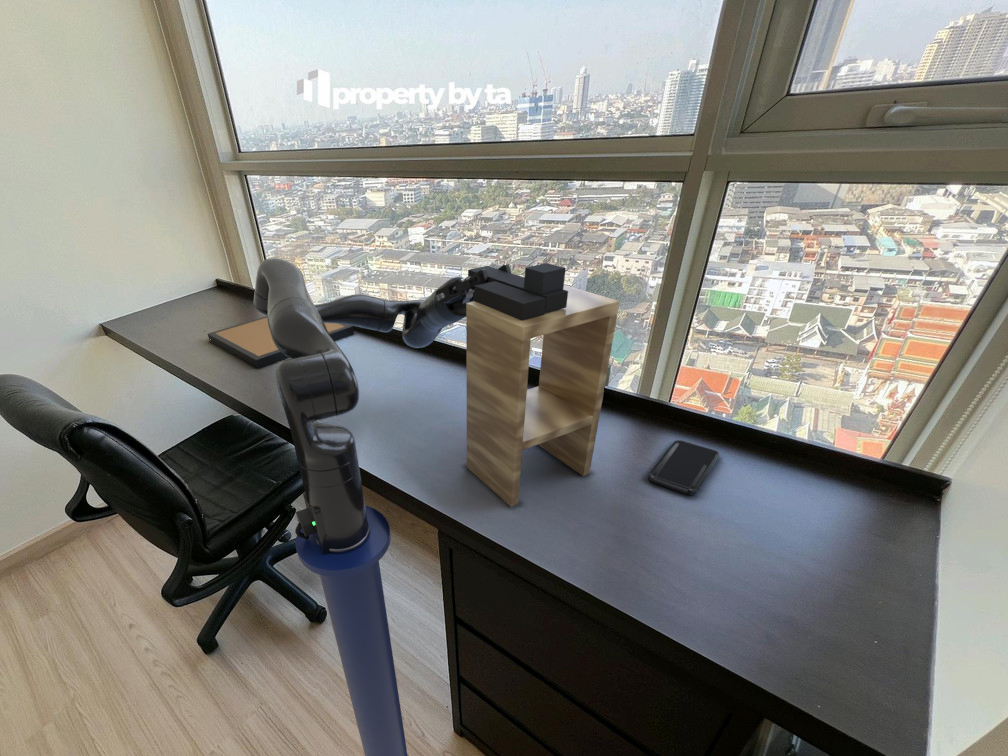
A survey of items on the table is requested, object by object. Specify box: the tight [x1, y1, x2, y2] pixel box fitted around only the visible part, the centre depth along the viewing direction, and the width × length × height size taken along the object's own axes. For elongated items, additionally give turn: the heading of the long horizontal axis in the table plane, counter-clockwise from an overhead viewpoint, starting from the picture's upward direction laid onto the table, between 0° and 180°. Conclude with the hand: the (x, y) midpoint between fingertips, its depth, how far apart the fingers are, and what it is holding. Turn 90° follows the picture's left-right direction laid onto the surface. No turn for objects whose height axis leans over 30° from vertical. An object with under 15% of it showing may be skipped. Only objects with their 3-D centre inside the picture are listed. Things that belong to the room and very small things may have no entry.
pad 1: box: [467, 262, 568, 313], centre depth 75 cm, size 4×20×5 cm, turn 27°
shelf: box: [465, 284, 620, 507], centre depth 82 cm, size 18×14×32 cm
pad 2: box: [474, 281, 546, 321], centre depth 72 cm, size 4×12×2 cm, turn 27°
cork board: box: [207, 315, 355, 370], centre depth 161 cm, size 36×3×35 cm
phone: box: [648, 439, 720, 496], centre depth 88 cm, size 8×1×15 cm
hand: (496, 272), depth 79 cm, fingers closed on pad 1, 4 cm apart
